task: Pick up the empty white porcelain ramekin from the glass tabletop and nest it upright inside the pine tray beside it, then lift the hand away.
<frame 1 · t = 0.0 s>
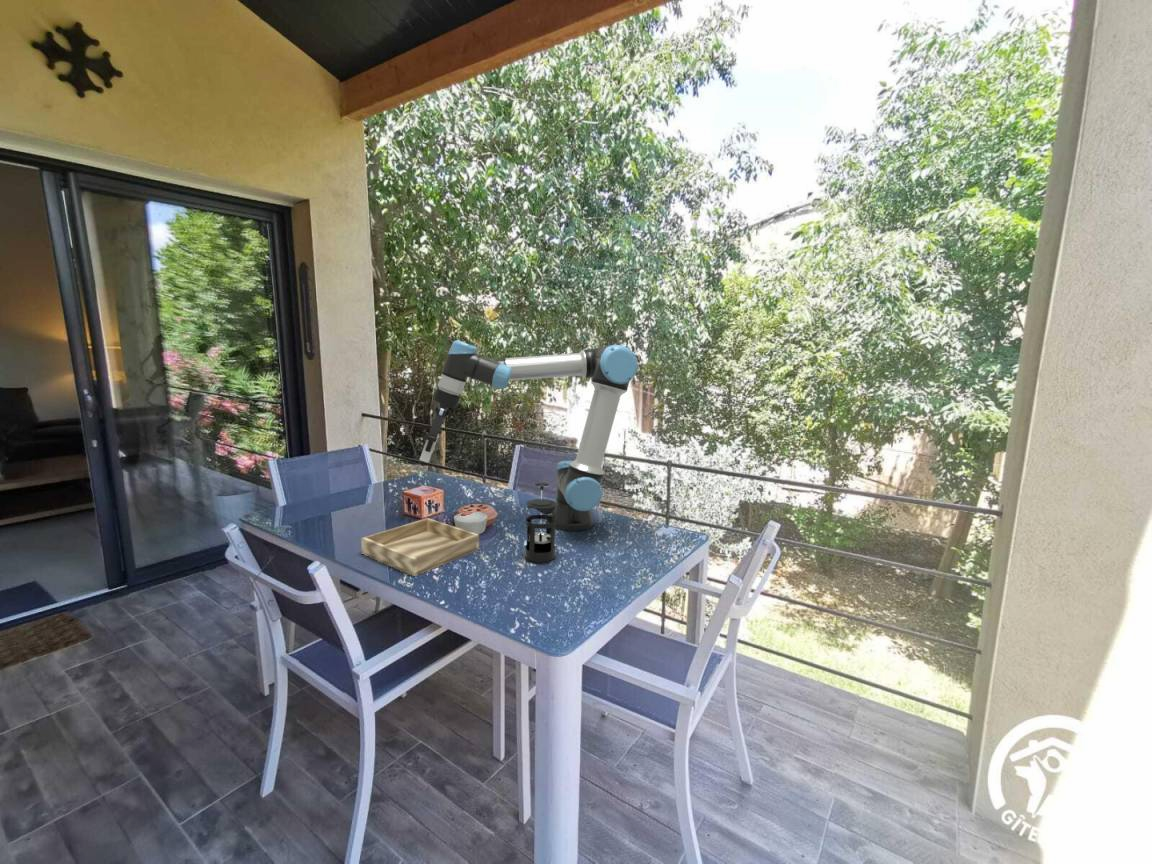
hand: (426, 456, 156), 28 cm above the table, tool tilted 20°, fingers open, 13 cm apart
pine tray: (421, 552, 153), on the table
ramekin: (470, 532, 172), on the table
french press: (541, 557, 153), on the table
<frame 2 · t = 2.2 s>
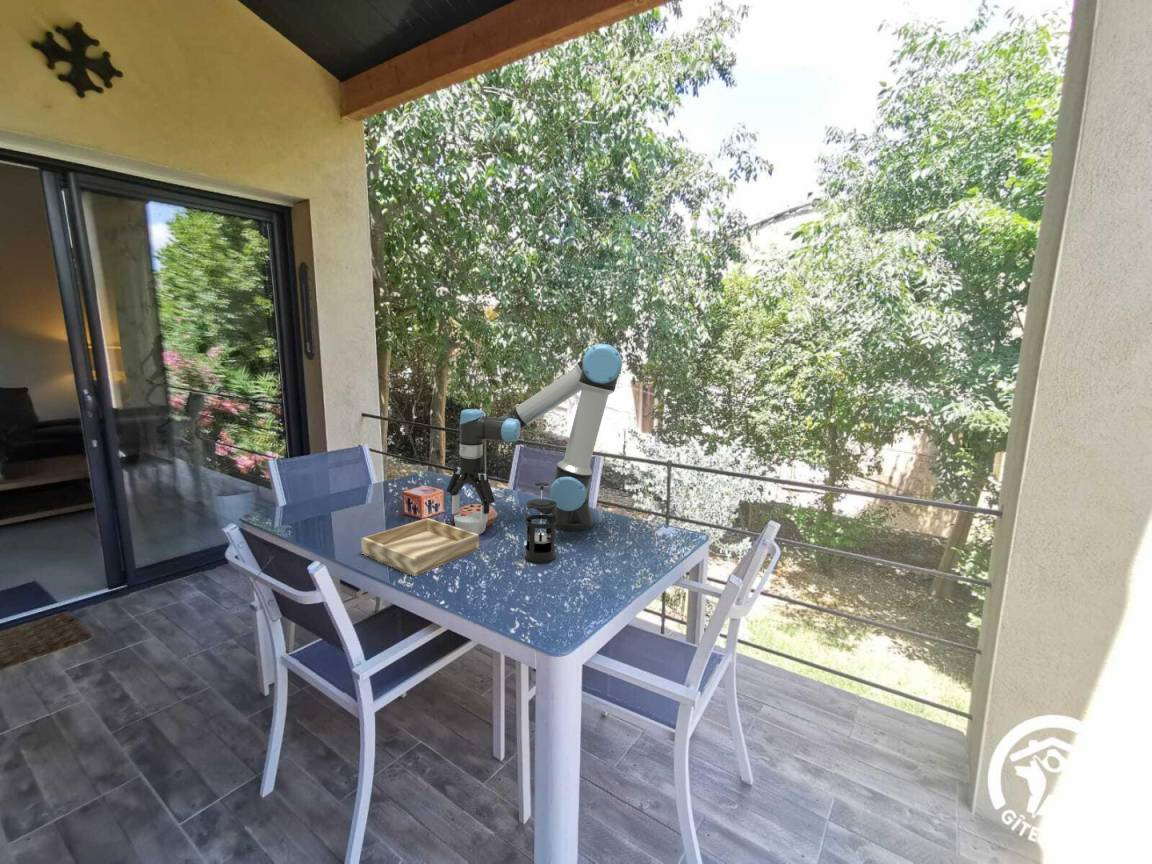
hand: (469, 518, 172), 5 cm above the table, tool pointing down, fingers open, 13 cm apart
nothing on the table moved.
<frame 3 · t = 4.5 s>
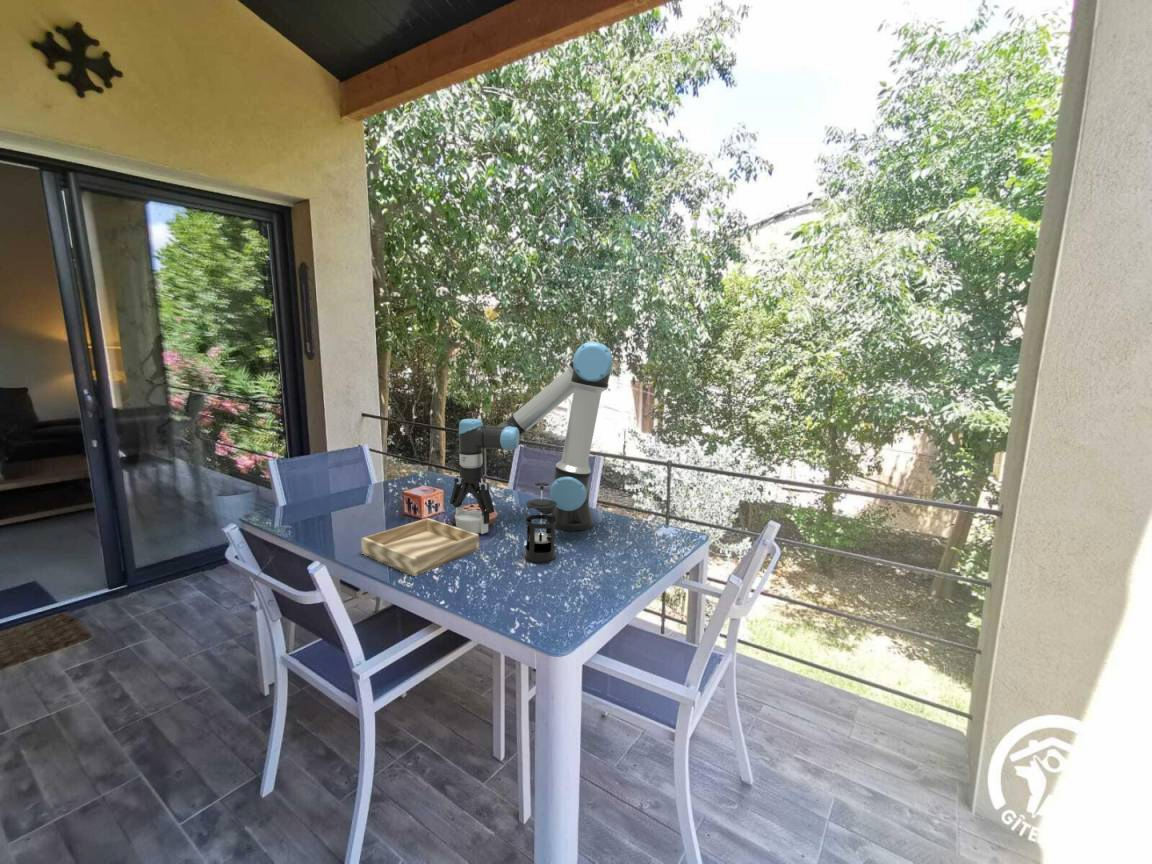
hand: (471, 528, 172), 1 cm above the table, tool pointing down, fingers closed on ramekin, 11 cm apart
ramekin: (472, 530, 172), on the table, touching gripper
everything else where it was.
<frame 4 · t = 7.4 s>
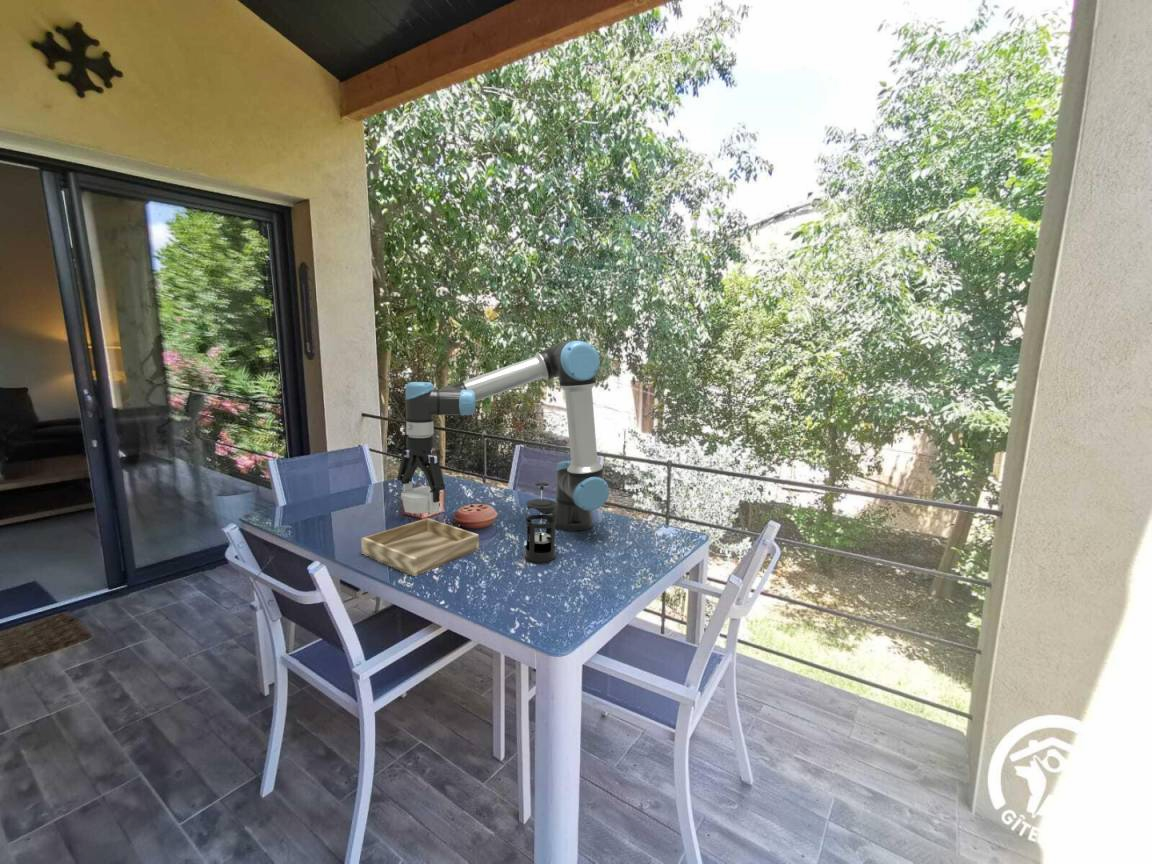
hand: (420, 508, 151), 14 cm above the table, tool pointing down, fingers closed on ramekin, 11 cm apart
ramekin: (421, 509, 151), point 13 cm above the table, touching gripper
everything else where it was.
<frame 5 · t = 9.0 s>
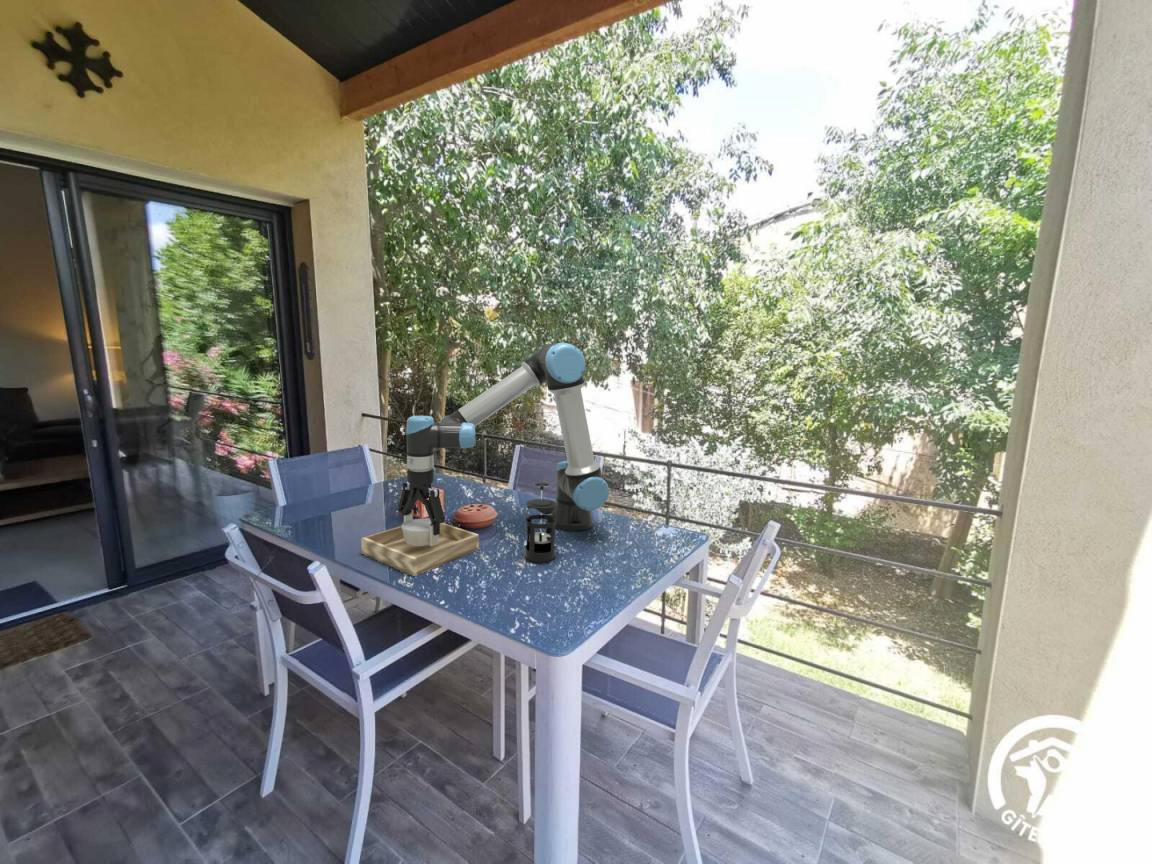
hand: (421, 540, 153), 4 cm above the table, tool pointing down, fingers closed on ramekin, 11 cm apart
ramekin: (421, 541, 153), point 3 cm above the table, touching gripper
everything else where it was.
when the fingers open (2 cm above the table, at t = 10.3 s): ramekin drops 1 cm, resting on pine tray.
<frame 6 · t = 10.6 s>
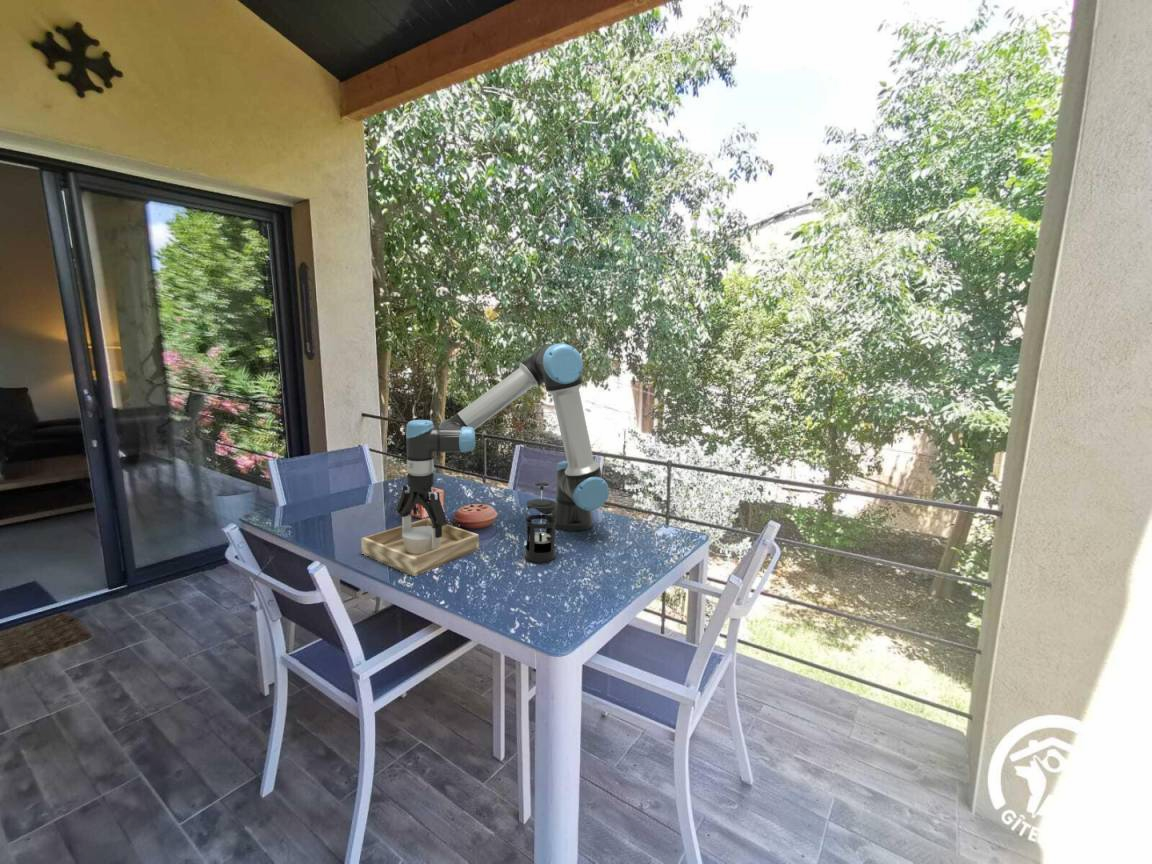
hand: (421, 542, 153), 3 cm above the table, tool pointing down, fingers open, 13 cm apart
ramekin: (421, 549, 153), point 1 cm above the table, touching pine tray
everything else where it was.
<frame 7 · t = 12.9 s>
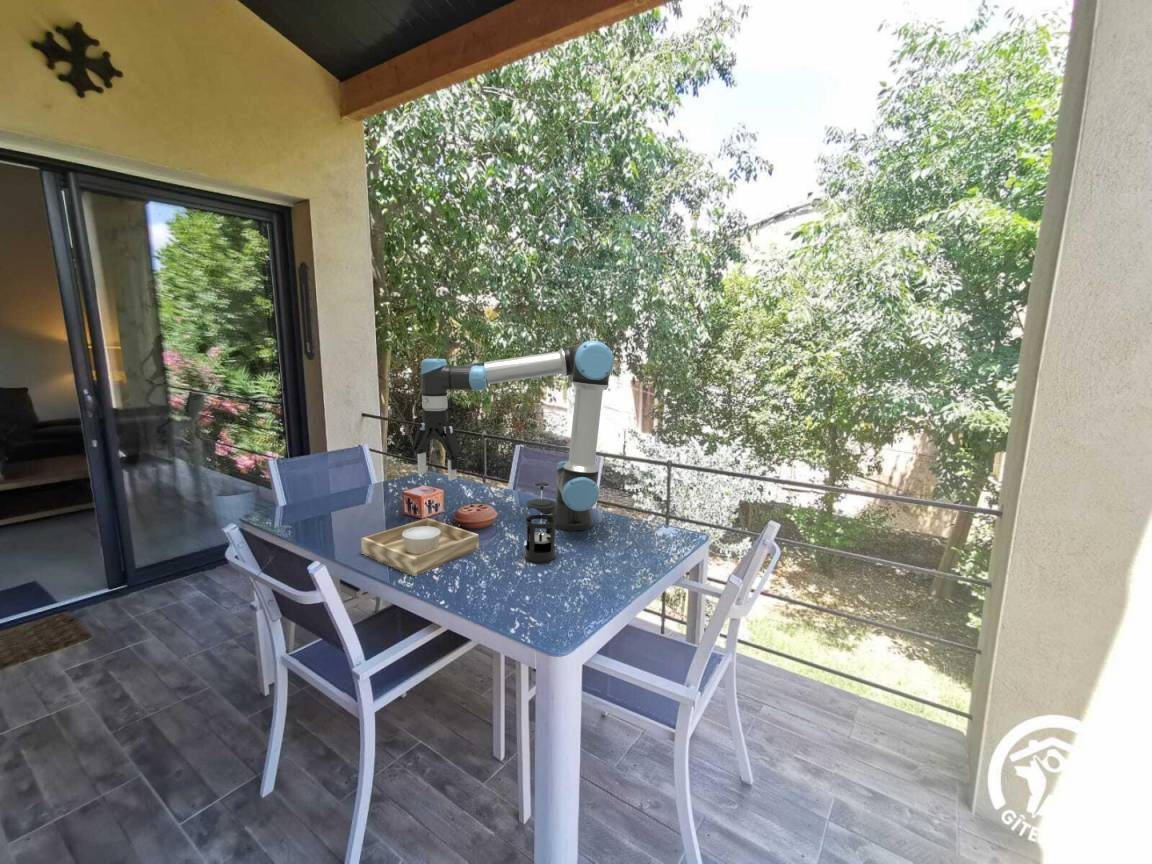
hand: (437, 476, 160), 21 cm above the table, tool pointing down, fingers open, 13 cm apart
nothing on the table moved.
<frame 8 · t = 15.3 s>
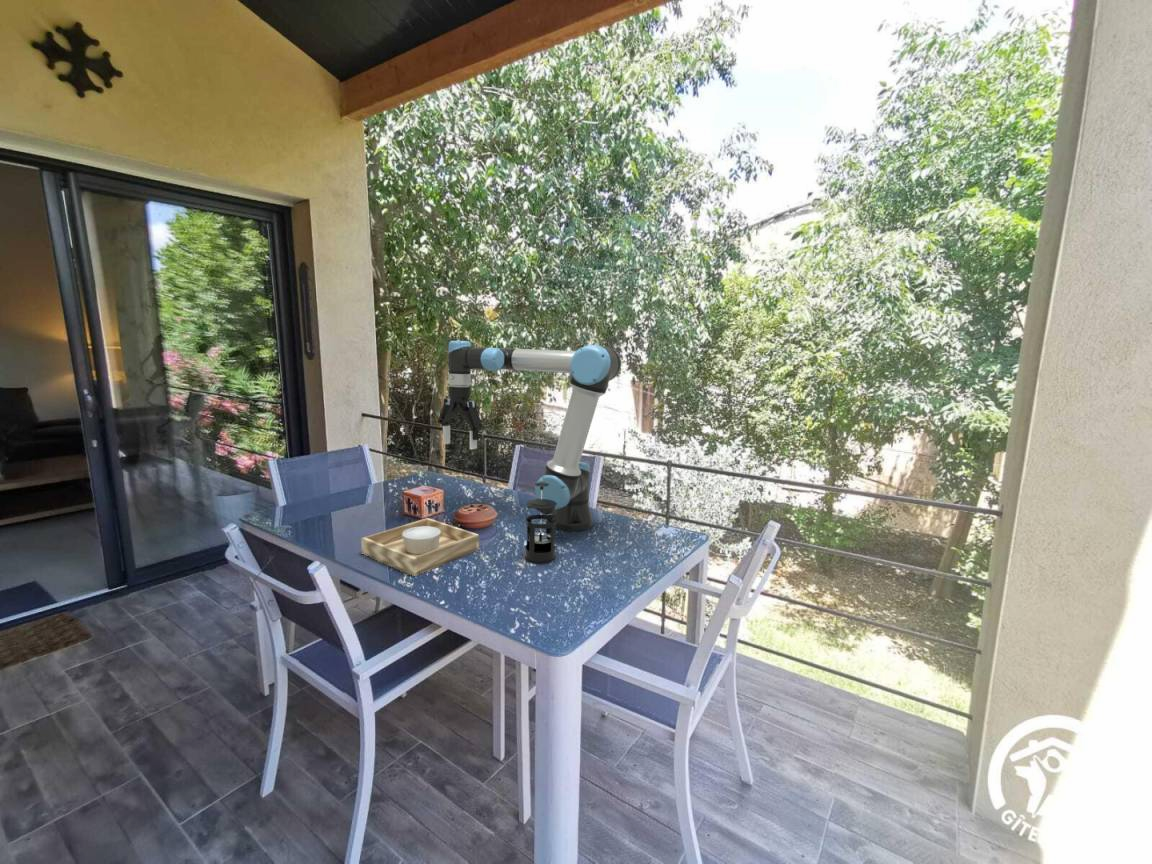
hand: (459, 446, 180), 27 cm above the table, tool pointing down, fingers open, 13 cm apart
nothing on the table moved.
at the end: ramekin inside the target area on the pine tray (0.2 cm from its centre), point 0.8 cm above the pine tray's base; ramekin tilted 0°; the gripper is holding nothing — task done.
